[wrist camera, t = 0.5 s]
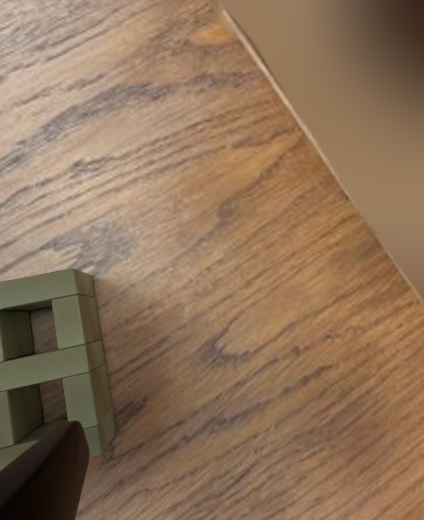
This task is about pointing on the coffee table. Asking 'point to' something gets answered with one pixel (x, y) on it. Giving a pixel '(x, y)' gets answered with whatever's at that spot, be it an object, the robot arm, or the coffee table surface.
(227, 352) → the coffee table surface
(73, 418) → the rack
